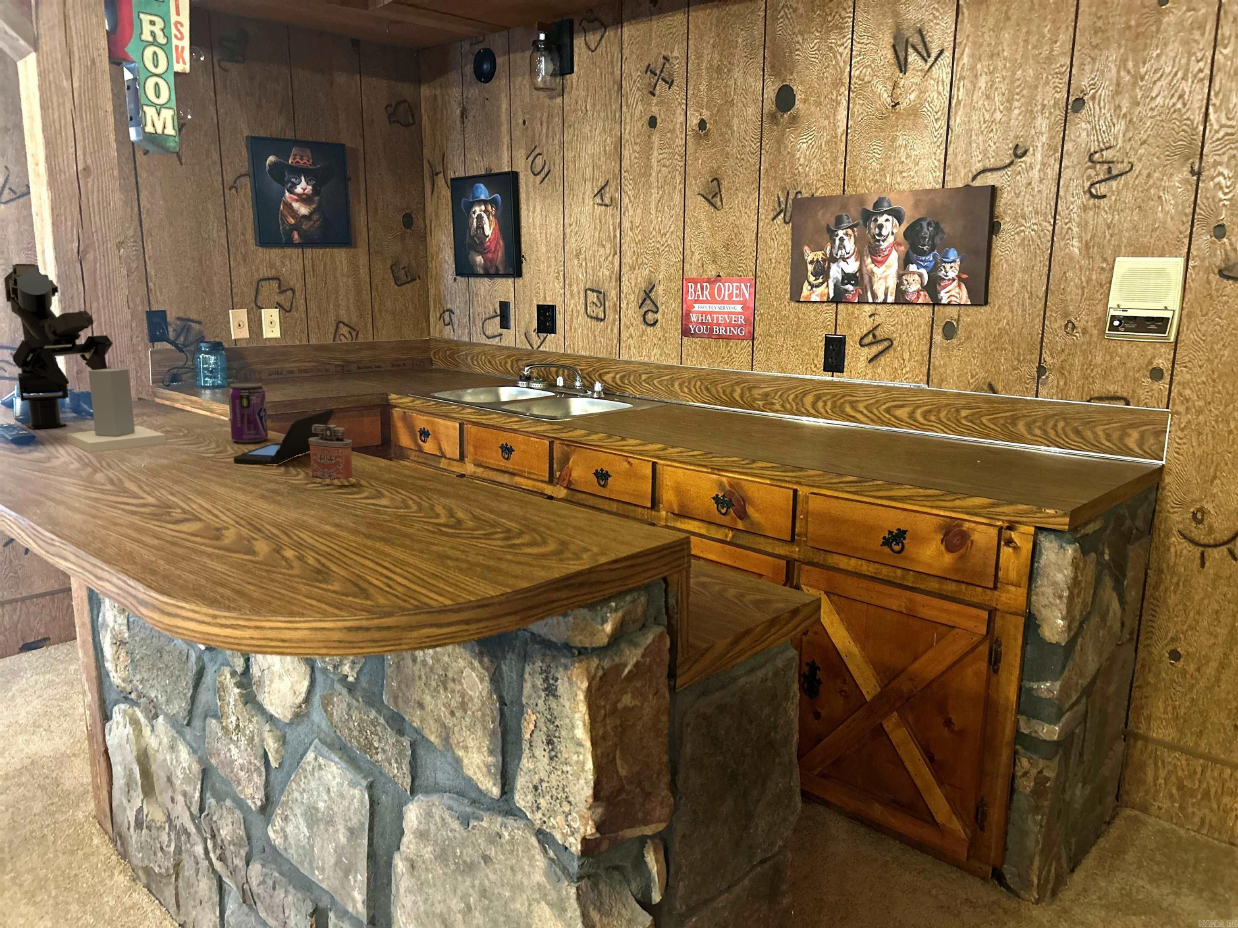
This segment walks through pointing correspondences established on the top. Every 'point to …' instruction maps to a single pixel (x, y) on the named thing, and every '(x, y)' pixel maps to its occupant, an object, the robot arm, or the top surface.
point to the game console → (287, 442)
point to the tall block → (111, 402)
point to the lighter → (330, 453)
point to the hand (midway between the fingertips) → (88, 381)
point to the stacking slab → (115, 440)
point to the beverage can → (248, 412)
